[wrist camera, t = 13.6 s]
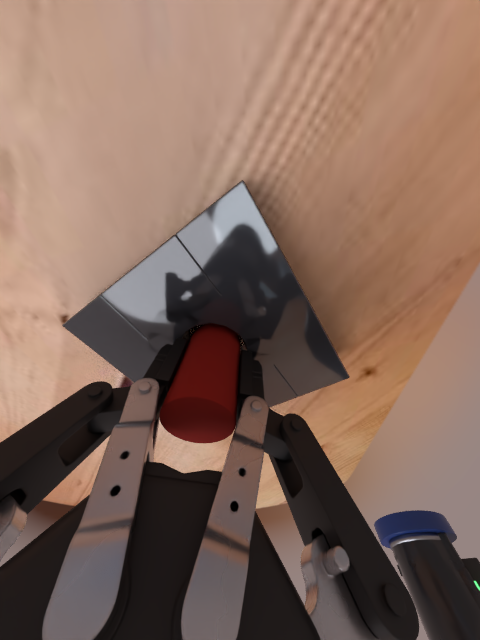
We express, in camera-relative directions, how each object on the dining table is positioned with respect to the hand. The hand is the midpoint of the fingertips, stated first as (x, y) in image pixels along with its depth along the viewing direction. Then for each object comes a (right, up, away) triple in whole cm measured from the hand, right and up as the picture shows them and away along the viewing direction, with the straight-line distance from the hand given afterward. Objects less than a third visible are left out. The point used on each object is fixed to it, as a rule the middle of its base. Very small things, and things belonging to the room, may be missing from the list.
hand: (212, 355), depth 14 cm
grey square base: (0, +1, +2) cm, 3 cm away
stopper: (0, +1, +1) cm, 1 cm away
